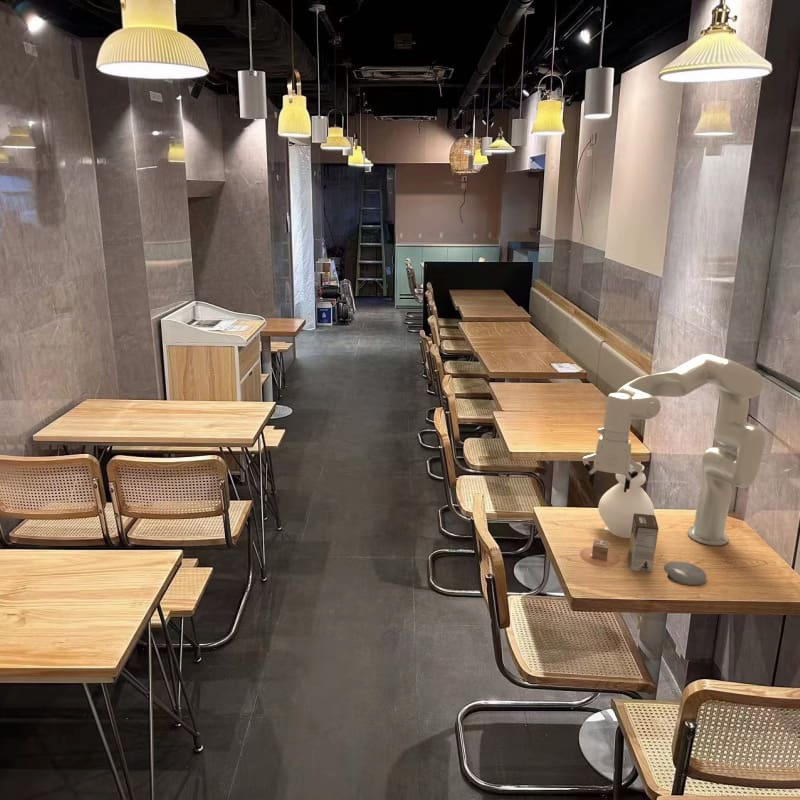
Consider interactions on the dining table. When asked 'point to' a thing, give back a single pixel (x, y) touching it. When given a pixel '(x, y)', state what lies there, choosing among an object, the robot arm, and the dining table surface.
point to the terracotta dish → (587, 556)
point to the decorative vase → (624, 504)
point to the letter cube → (600, 549)
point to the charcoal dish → (685, 573)
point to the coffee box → (643, 542)
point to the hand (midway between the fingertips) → (608, 487)
